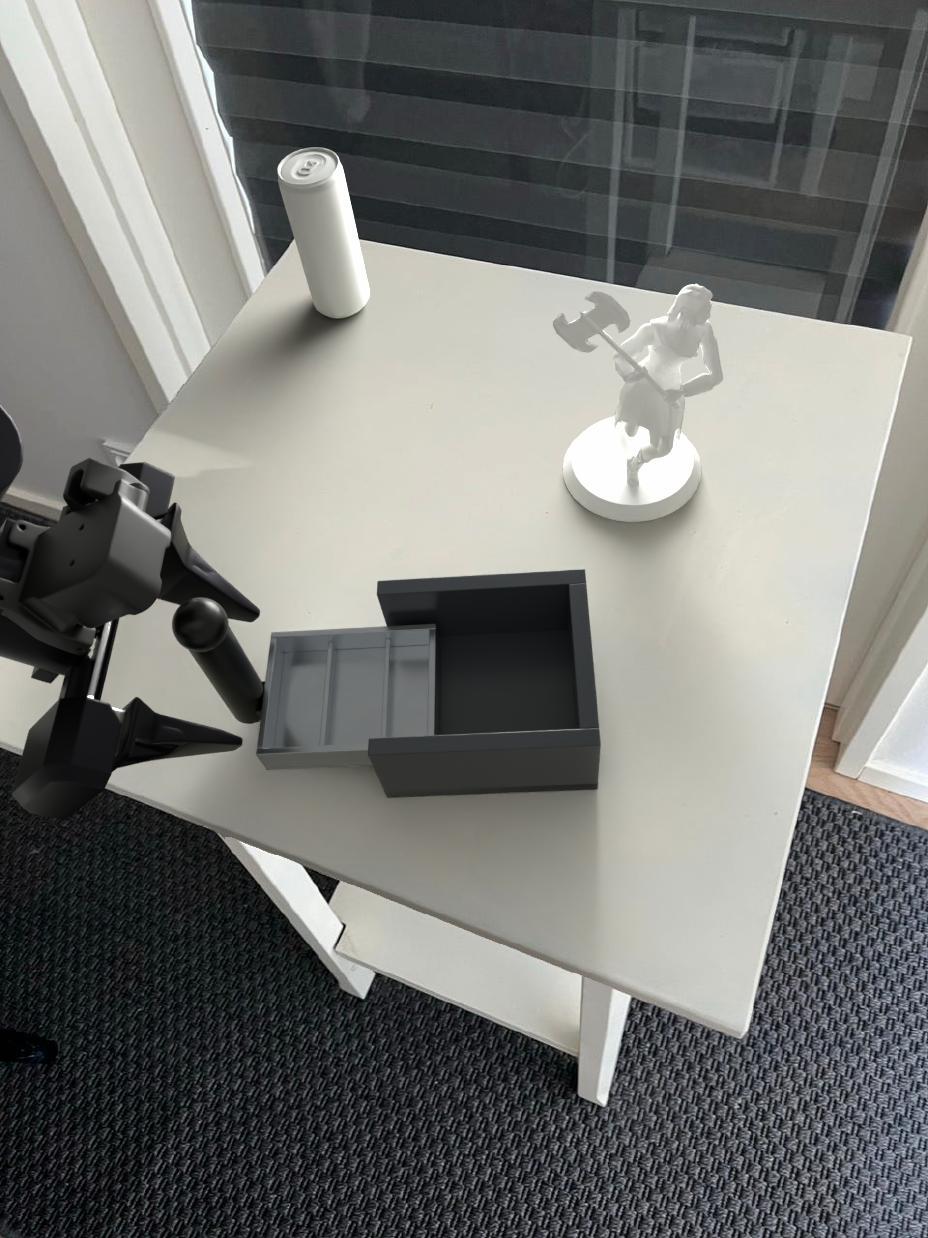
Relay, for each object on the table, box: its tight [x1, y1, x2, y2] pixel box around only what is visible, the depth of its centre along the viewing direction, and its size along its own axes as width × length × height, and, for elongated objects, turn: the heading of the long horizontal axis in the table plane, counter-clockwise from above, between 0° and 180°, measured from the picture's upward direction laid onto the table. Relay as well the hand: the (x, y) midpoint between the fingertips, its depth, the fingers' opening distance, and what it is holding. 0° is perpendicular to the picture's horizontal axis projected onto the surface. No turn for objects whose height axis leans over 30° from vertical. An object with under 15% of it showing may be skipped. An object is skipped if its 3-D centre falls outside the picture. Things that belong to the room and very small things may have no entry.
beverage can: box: [276, 146, 371, 319], centre depth 72 cm, size 5×5×12 cm
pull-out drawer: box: [171, 597, 440, 771], centre depth 51 cm, size 13×8×11 cm, turn 90°
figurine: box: [552, 282, 724, 523], centre depth 57 cm, size 10×10×18 cm
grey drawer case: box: [368, 568, 602, 799], centre depth 53 cm, size 12×11×6 cm
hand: (248, 678), depth 52 cm, fingers open, 8 cm apart
